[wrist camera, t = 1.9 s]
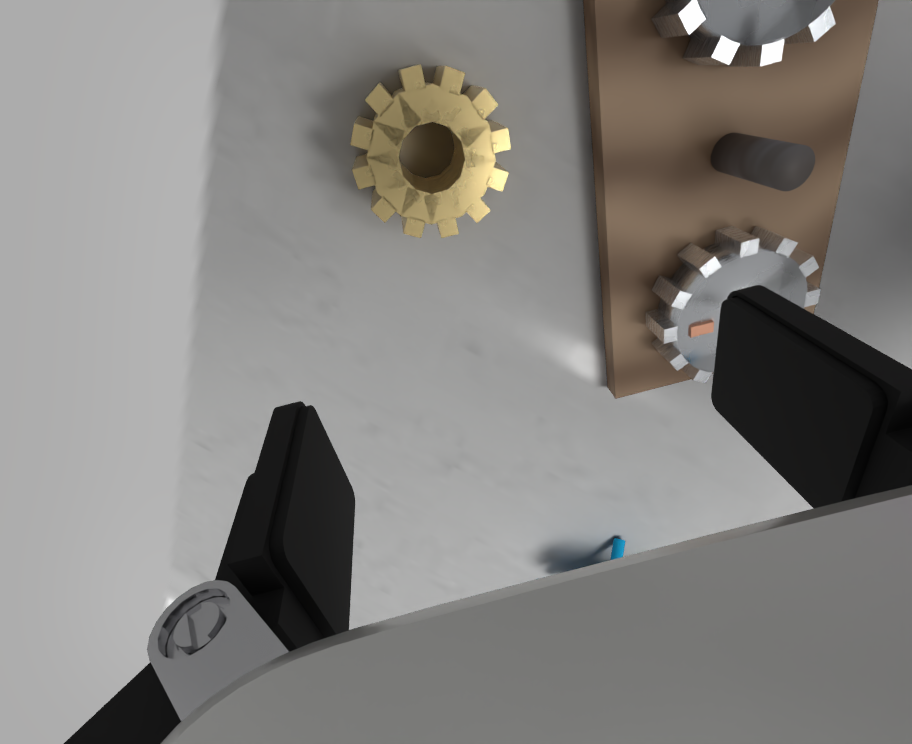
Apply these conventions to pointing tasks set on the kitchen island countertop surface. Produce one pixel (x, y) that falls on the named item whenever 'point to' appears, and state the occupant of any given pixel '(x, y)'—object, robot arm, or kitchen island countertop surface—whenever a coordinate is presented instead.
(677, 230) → the gear board
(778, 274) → the gear
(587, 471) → the kitchen island countertop surface
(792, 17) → the gear
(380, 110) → the brass gear
